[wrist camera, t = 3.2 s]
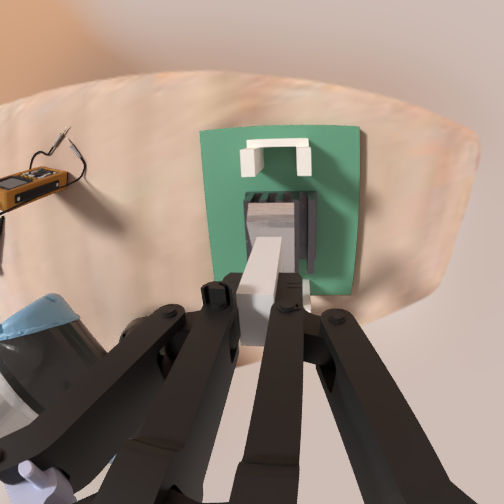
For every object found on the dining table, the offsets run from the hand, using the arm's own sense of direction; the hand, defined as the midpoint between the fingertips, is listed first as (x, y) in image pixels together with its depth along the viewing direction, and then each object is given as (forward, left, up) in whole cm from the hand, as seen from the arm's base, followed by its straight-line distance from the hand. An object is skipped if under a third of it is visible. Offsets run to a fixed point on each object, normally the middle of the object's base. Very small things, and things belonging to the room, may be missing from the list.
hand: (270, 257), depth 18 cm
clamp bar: (-4, 0, -7) cm, 8 cm away
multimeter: (+9, +34, -18) cm, 40 cm away
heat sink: (-3, 0, -16) cm, 17 cm away
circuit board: (-2, 0, -18) cm, 18 cm away
